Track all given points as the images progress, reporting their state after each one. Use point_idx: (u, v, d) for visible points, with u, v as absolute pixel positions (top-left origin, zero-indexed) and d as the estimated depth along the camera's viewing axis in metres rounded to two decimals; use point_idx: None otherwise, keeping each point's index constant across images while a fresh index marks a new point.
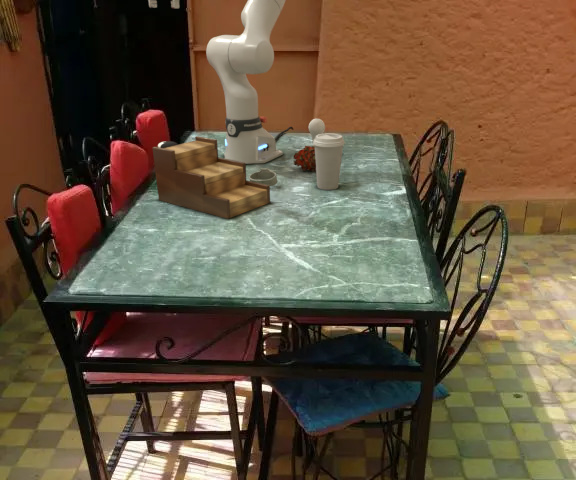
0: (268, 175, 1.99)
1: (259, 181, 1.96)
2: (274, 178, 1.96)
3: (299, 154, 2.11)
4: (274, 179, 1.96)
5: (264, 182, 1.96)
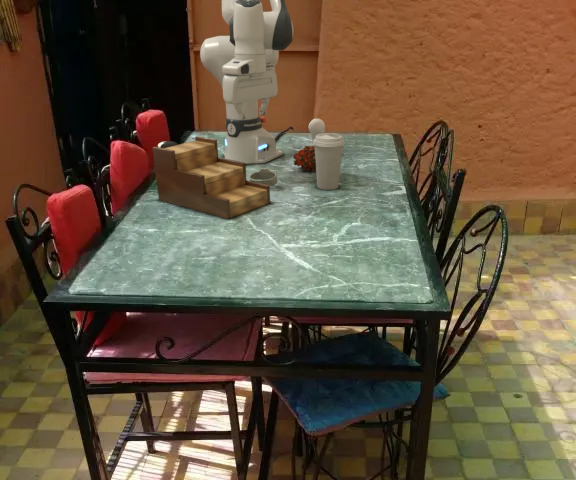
0: (268, 175, 1.99)
1: (259, 181, 1.96)
2: (274, 178, 1.96)
3: (299, 154, 2.11)
4: (274, 179, 1.96)
5: (264, 182, 1.96)
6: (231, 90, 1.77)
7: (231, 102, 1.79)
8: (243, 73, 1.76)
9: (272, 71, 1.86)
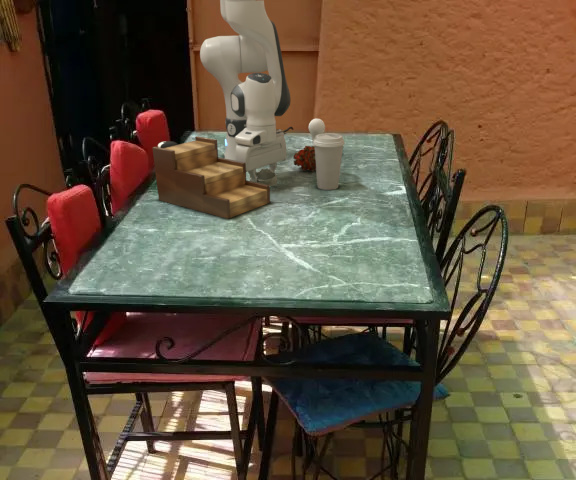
0: (268, 175, 1.99)
1: (259, 181, 1.96)
2: (274, 178, 1.96)
3: (299, 154, 2.11)
4: (274, 179, 1.96)
5: (264, 182, 1.96)
6: (244, 159, 1.86)
7: None
8: (255, 144, 1.86)
9: (281, 137, 1.96)
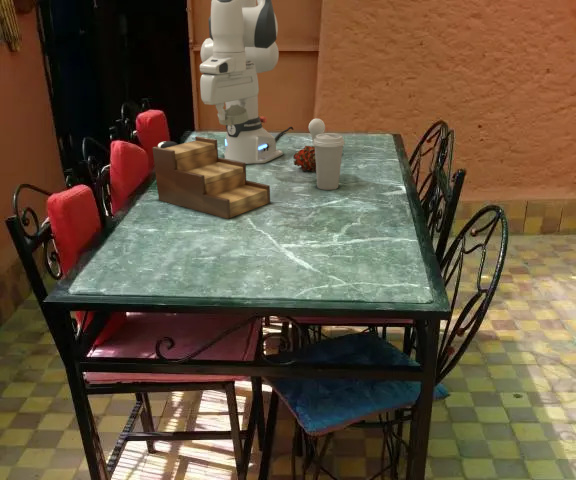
0: (238, 112, 1.81)
1: (228, 117, 1.77)
2: (245, 114, 1.78)
3: (299, 154, 2.11)
4: (245, 115, 1.78)
5: (233, 119, 1.78)
6: (210, 90, 1.68)
7: (209, 102, 1.70)
8: (222, 72, 1.67)
9: (252, 69, 1.78)
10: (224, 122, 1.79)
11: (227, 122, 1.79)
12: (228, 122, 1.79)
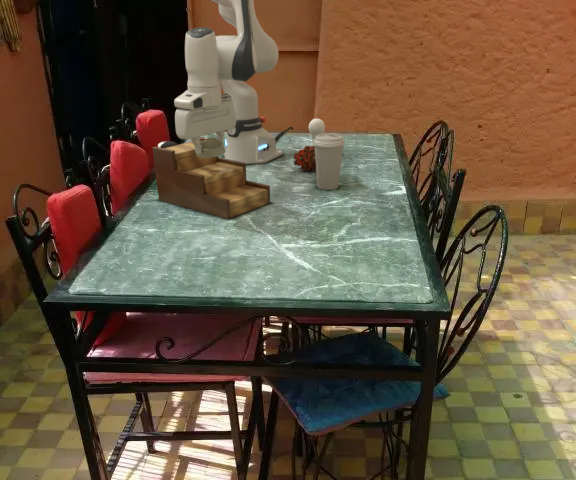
0: (215, 145, 1.79)
1: (204, 151, 1.76)
2: (221, 147, 1.76)
3: (299, 154, 2.11)
4: (221, 148, 1.76)
5: (210, 152, 1.76)
6: (184, 125, 1.67)
7: (184, 137, 1.69)
8: (196, 107, 1.66)
9: (229, 102, 1.76)
10: (200, 155, 1.78)
11: (203, 155, 1.77)
12: (204, 155, 1.77)
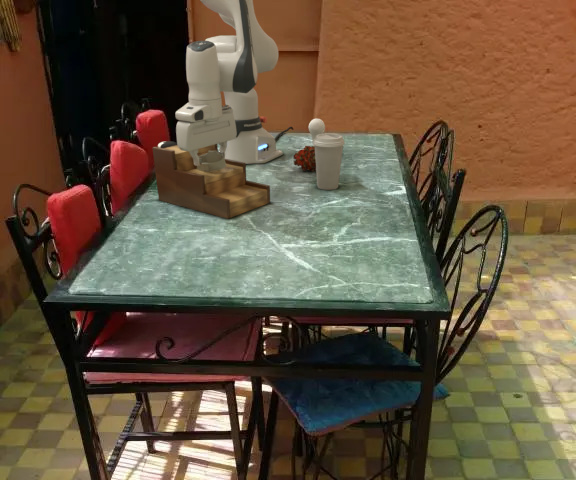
0: (216, 158, 1.81)
1: (205, 164, 1.78)
2: (222, 161, 1.78)
3: (299, 154, 2.11)
4: (222, 162, 1.78)
5: (211, 166, 1.78)
6: (185, 137, 1.68)
7: (185, 149, 1.71)
8: (197, 120, 1.68)
9: (229, 113, 1.78)
10: (201, 168, 1.80)
11: (204, 168, 1.79)
12: (205, 168, 1.79)
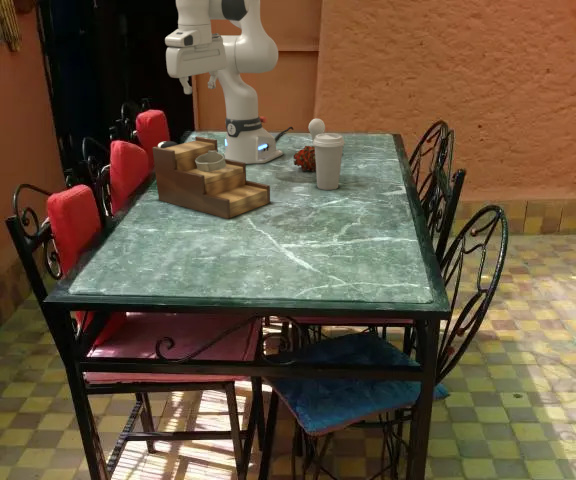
0: (216, 158, 1.81)
1: (205, 164, 1.78)
2: (222, 161, 1.78)
3: (299, 154, 2.11)
4: (222, 162, 1.78)
5: (211, 166, 1.78)
6: (175, 63, 1.69)
7: (175, 76, 1.72)
8: (187, 45, 1.68)
9: (219, 42, 1.78)
10: (201, 168, 1.80)
11: (204, 168, 1.79)
12: (205, 168, 1.79)
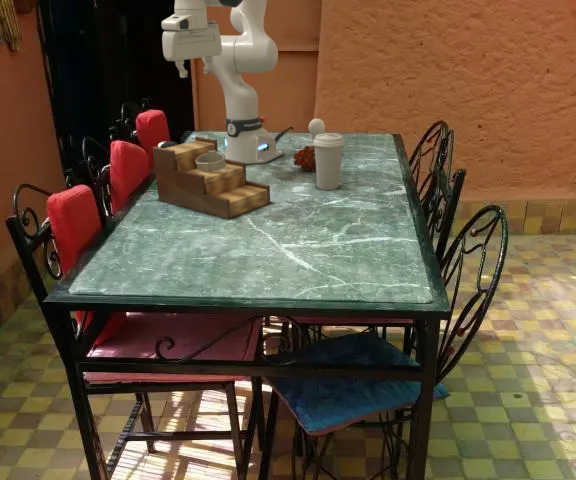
0: (216, 158, 1.81)
1: (205, 164, 1.78)
2: (222, 161, 1.78)
3: (299, 154, 2.11)
4: (222, 162, 1.78)
5: (211, 166, 1.78)
6: (171, 46, 1.74)
7: (171, 59, 1.76)
8: (182, 28, 1.73)
9: (215, 28, 1.83)
10: (201, 168, 1.80)
11: (204, 168, 1.79)
12: (205, 168, 1.79)
